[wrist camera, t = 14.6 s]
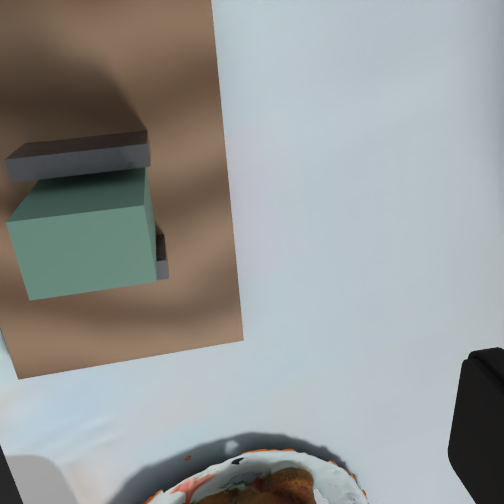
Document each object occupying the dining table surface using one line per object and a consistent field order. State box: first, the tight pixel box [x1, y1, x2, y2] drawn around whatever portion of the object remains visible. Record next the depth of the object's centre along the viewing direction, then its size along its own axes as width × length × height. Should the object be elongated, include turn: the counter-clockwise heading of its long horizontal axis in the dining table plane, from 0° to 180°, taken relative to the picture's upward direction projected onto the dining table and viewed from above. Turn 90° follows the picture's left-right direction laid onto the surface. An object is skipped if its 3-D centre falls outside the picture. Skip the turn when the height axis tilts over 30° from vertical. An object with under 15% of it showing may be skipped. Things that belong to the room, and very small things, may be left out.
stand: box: [0, 0, 244, 379], centre depth 28 cm, size 24×16×6 cm, turn 4°
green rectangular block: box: [6, 167, 157, 301], centre depth 26 cm, size 4×6×8 cm, turn 94°
